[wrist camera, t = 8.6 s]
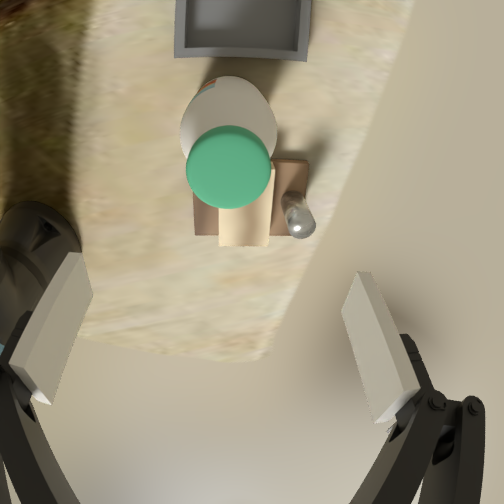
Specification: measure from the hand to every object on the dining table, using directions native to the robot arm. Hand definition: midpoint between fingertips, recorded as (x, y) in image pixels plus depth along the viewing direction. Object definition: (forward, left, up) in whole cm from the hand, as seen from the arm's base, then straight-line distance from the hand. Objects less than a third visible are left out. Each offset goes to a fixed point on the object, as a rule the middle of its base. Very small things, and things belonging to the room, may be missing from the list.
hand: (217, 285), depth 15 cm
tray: (+1, +16, -25) cm, 29 cm away
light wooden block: (+3, -7, -23) cm, 25 cm away
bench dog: (+8, -7, -23) cm, 26 cm away
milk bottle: (0, +4, -25) cm, 25 cm away
